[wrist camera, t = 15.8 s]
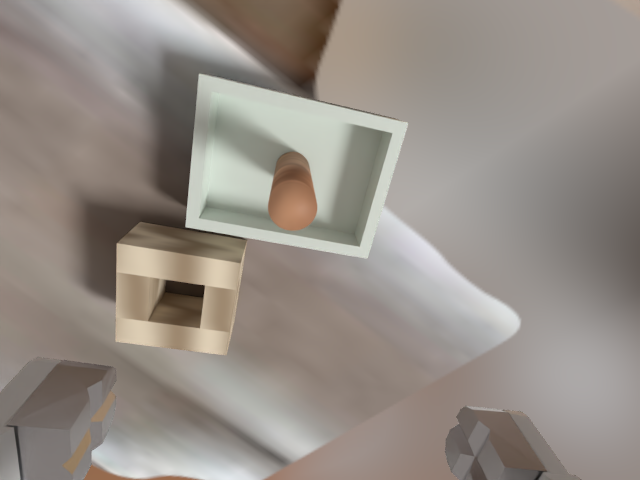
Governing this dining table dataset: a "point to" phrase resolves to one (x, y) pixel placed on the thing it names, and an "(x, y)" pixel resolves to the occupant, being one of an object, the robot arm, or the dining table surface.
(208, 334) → the square wooden frame
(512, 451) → the robot arm
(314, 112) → the tray
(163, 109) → the dining table surface
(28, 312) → the dining table surface
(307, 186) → the dowel
